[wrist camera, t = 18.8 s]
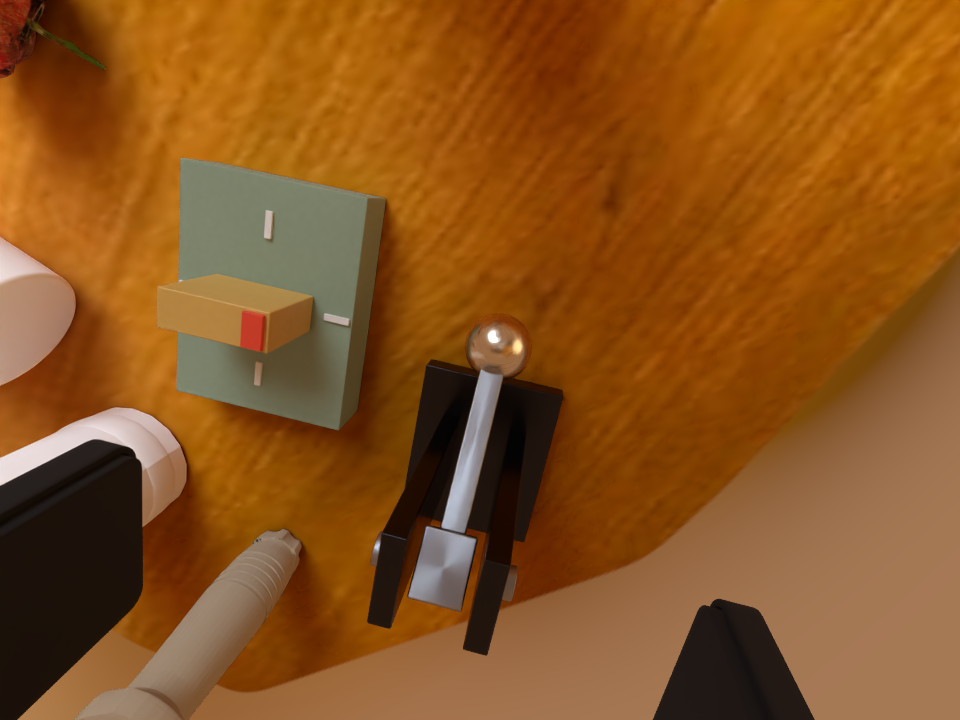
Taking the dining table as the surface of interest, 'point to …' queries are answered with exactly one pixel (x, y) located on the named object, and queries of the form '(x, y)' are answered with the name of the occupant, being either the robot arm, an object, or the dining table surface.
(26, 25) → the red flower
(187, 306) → the lock knob
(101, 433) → the bottle
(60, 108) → the dining table surface
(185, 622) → the handle
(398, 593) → the handle bracket
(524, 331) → the ball knob lever
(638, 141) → the dining table surface
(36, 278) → the mug
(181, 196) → the plate
